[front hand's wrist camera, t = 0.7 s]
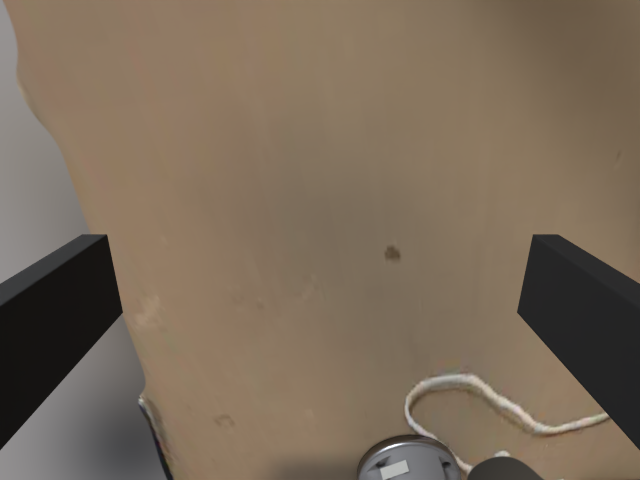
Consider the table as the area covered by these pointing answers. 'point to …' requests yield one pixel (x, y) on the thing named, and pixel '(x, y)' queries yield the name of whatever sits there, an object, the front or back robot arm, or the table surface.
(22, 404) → the front robot arm
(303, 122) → the table surface
